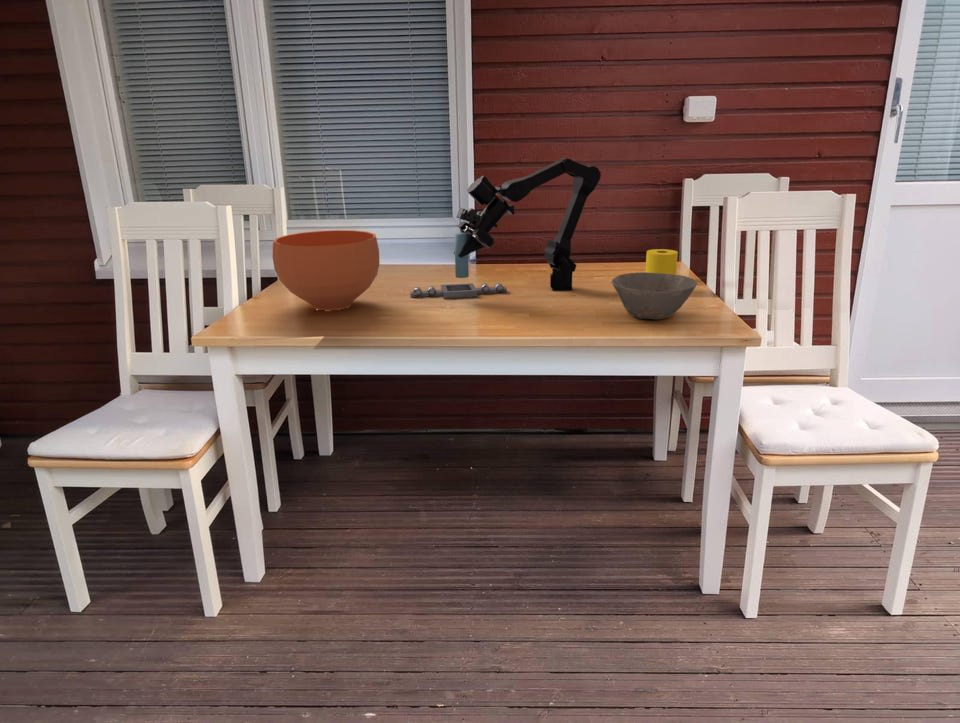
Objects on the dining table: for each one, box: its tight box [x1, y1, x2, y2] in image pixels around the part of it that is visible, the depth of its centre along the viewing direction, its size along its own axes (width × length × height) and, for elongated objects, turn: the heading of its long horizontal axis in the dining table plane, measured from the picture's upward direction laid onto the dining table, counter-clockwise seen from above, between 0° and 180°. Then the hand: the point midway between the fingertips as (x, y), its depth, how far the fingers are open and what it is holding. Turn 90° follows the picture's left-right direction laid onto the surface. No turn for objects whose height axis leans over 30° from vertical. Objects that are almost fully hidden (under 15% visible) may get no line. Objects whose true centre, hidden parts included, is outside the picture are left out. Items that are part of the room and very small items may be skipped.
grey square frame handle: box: [409, 282, 508, 300], centre depth 207 cm, size 30×10×3 cm, turn 97°
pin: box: [453, 232, 470, 279], centre depth 197 cm, size 4×4×13 cm
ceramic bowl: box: [611, 272, 698, 321], centre depth 178 cm, size 22×23×10 cm
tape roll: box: [644, 248, 679, 275], centre depth 219 cm, size 10×10×9 cm
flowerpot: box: [272, 229, 380, 311], centre depth 192 cm, size 30×30×20 cm
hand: (457, 255), depth 196 cm, fingers closed on pin, 4 cm apart
